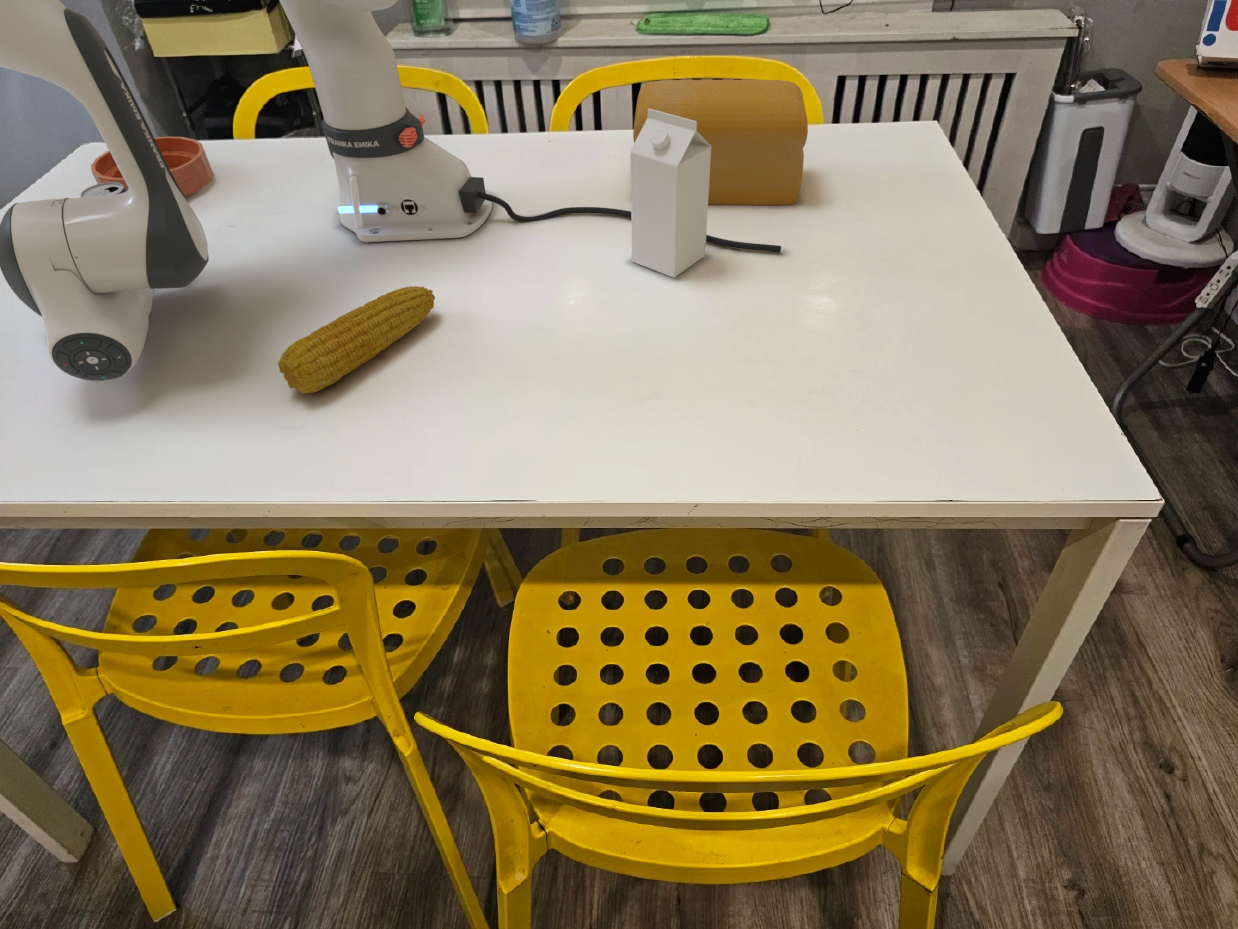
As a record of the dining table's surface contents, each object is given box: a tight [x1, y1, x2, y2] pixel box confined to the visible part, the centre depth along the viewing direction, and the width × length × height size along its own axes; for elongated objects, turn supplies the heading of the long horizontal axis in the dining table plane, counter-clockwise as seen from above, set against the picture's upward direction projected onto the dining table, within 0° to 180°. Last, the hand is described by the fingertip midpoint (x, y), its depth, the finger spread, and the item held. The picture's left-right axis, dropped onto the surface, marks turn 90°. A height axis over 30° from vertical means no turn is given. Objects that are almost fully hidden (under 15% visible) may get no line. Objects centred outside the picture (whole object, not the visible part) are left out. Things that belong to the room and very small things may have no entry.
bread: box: [632, 79, 809, 206], centre depth 117 cm, size 24×13×15 cm, turn 86°
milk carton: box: [630, 109, 711, 278], centre depth 100 cm, size 7×7×19 cm
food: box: [277, 285, 436, 394], centre depth 91 cm, size 21×6×6 cm, turn 146°
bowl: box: [90, 136, 214, 198], centre depth 125 cm, size 16×16×5 cm
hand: (123, 231), depth 103 cm, fingers open, 8 cm apart
